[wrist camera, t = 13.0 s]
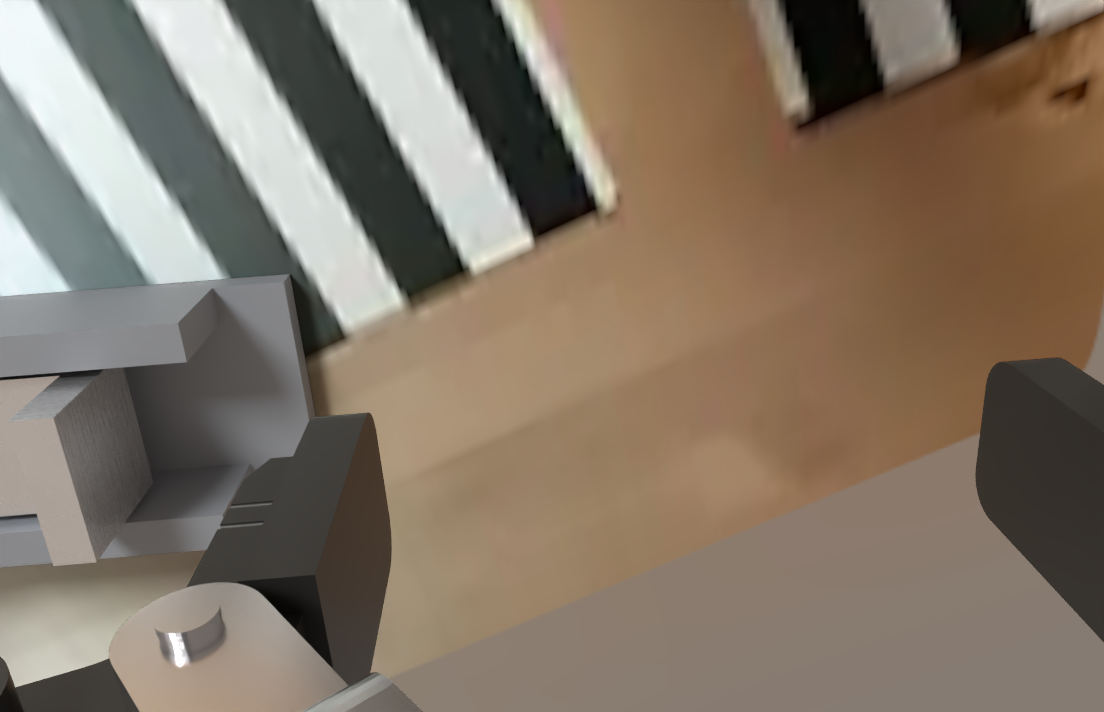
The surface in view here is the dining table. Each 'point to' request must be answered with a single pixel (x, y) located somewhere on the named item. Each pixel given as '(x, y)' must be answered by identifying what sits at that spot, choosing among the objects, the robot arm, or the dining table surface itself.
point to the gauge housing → (172, 393)
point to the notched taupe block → (71, 458)
